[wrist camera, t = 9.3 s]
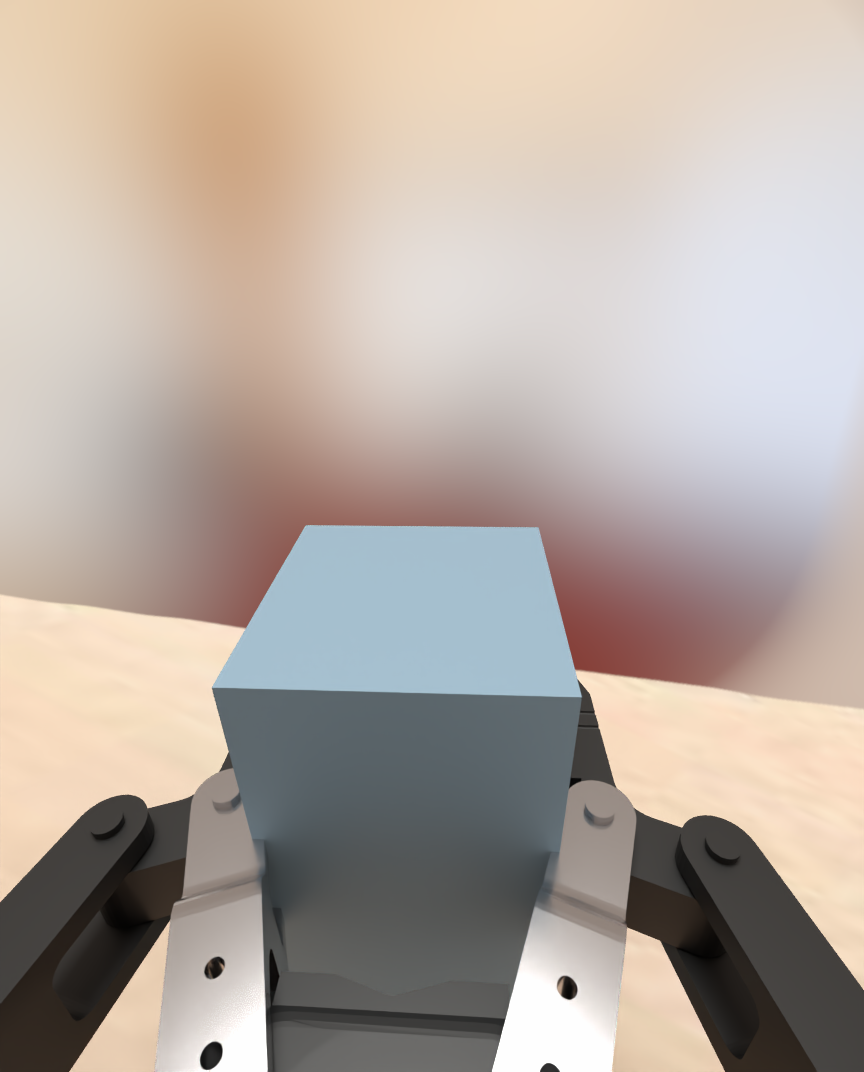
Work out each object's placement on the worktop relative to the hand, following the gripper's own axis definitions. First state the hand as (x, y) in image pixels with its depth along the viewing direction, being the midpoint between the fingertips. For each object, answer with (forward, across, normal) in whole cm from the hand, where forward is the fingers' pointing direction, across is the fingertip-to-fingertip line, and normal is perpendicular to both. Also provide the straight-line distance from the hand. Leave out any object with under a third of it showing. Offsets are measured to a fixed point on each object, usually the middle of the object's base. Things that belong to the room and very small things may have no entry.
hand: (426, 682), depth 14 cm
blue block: (-3, 0, -6) cm, 7 cm away
